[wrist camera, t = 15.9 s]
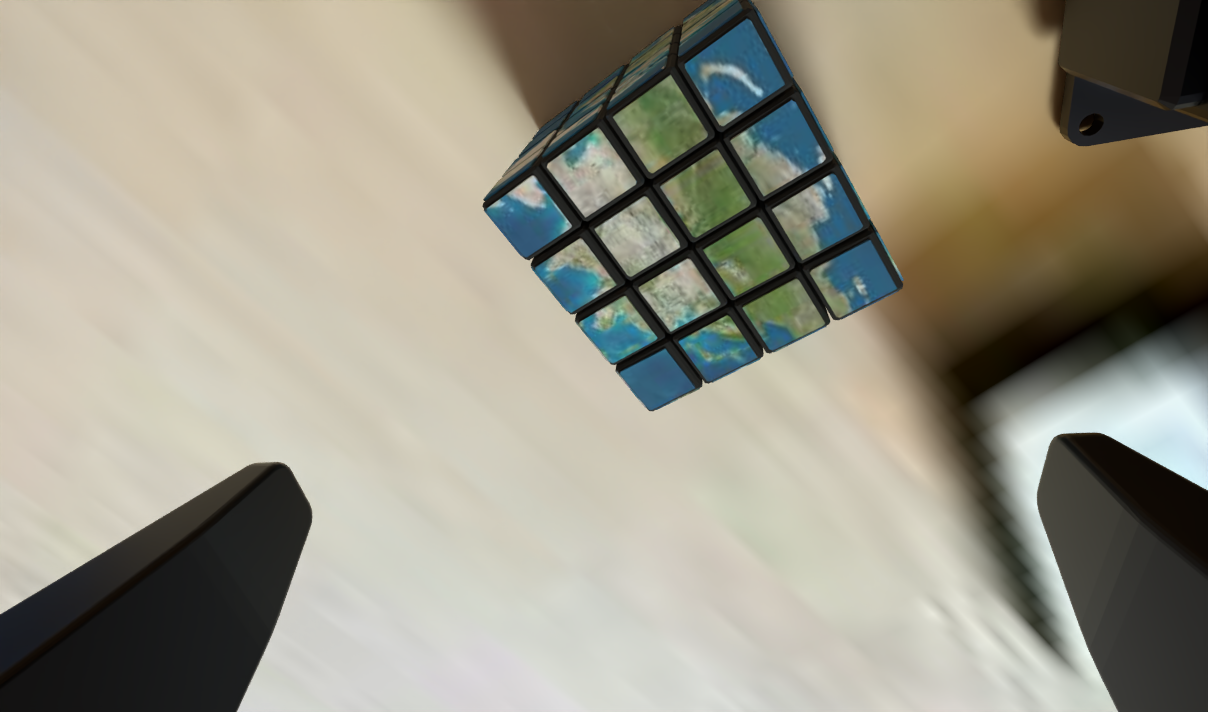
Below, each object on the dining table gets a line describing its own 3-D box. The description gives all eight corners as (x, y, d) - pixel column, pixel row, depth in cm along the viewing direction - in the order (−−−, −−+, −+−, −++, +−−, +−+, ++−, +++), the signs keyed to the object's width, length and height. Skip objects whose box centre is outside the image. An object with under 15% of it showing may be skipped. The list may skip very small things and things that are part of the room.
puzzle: (661, 295, 20) (649, 417, 15) (538, 128, 18) (476, 206, 13) (848, 188, 17) (910, 290, 12) (734, -22, 15) (753, 1, 10)
